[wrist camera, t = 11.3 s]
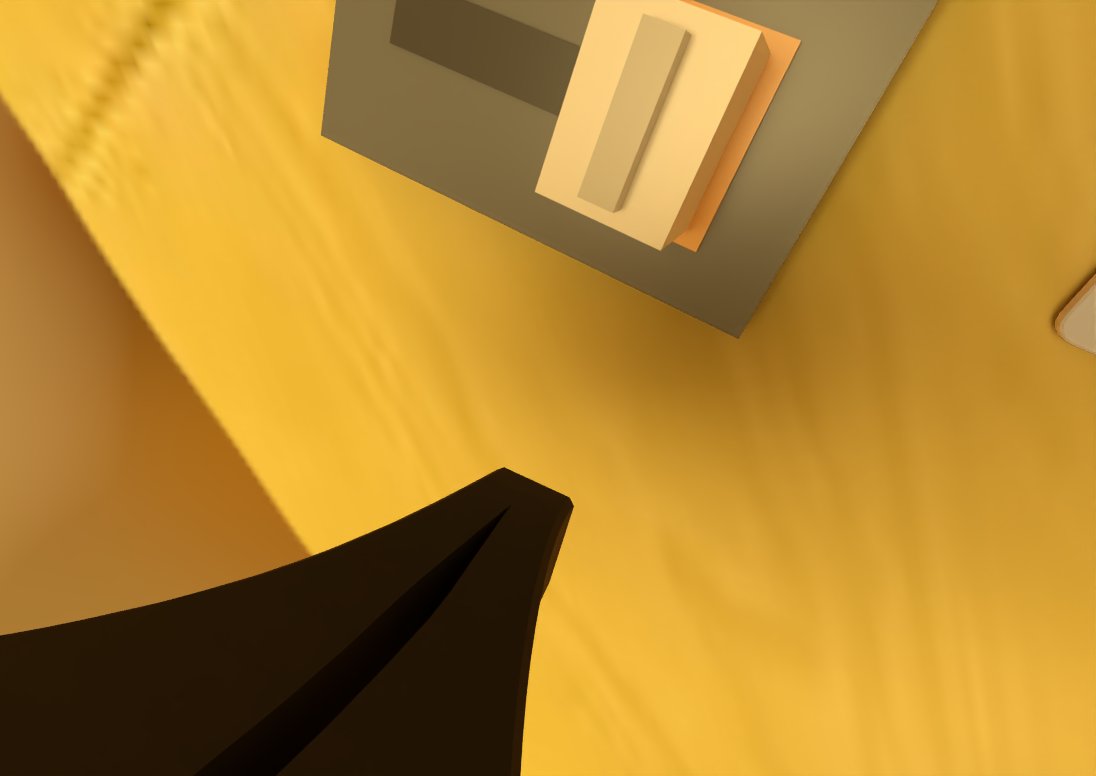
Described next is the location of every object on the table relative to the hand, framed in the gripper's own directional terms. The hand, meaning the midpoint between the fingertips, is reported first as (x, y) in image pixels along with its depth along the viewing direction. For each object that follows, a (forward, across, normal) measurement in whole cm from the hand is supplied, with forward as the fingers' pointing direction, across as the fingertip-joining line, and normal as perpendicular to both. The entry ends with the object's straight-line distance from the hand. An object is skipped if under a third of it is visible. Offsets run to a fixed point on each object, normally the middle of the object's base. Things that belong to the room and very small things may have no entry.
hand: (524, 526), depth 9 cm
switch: (+8, +1, -6) cm, 10 cm away
